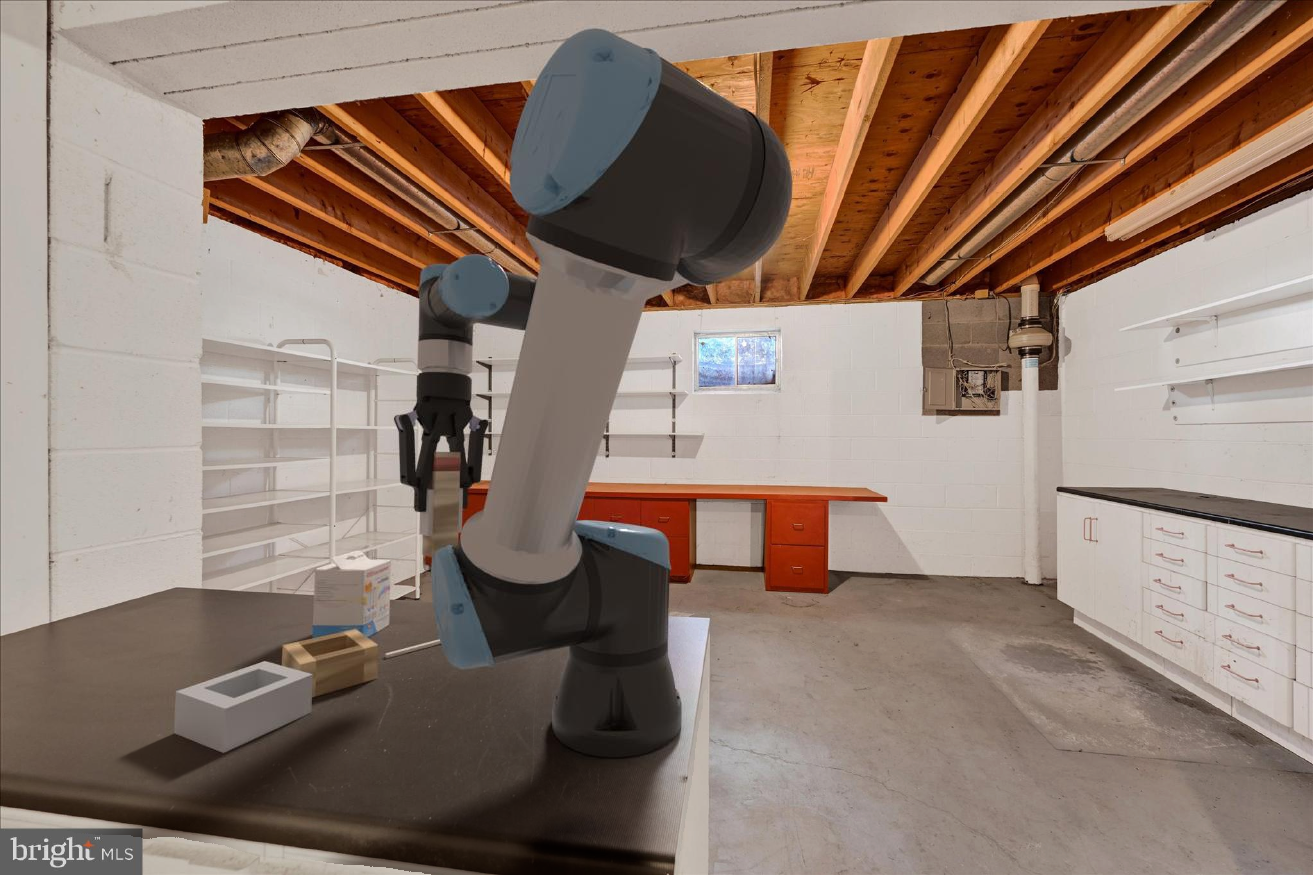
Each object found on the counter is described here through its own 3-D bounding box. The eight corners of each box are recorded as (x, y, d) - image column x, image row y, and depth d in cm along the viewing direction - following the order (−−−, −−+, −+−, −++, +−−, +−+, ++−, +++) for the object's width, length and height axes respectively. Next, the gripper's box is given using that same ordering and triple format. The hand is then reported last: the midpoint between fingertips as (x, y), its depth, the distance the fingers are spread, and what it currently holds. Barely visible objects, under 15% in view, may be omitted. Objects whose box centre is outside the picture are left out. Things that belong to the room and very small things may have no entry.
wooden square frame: (377, 678, 70) (378, 645, 71) (299, 701, 64) (300, 664, 64) (354, 659, 76) (355, 628, 77) (281, 678, 70) (282, 645, 70)
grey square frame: (311, 712, 61) (312, 674, 61) (223, 753, 53) (225, 708, 53) (263, 697, 65) (264, 661, 65) (174, 733, 56) (175, 691, 56)
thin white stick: (451, 640, 85) (451, 637, 85) (386, 658, 77) (387, 654, 77) (449, 639, 85) (449, 636, 85) (385, 656, 78) (385, 653, 78)
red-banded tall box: (458, 554, 75) (460, 452, 76) (433, 558, 72) (436, 451, 73) (446, 551, 78) (449, 452, 78) (421, 554, 75) (424, 451, 75)
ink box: (361, 642, 83) (364, 559, 83) (310, 641, 83) (313, 558, 84) (390, 624, 92) (392, 549, 92) (343, 623, 92) (346, 548, 92)
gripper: (484, 382, 85) (480, 525, 84) (374, 369, 72) (369, 536, 72) (508, 378, 80) (505, 530, 79) (395, 363, 67) (390, 543, 66)
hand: (440, 532), depth 75 cm, fingers closed on red-banded tall box, 4 cm apart
